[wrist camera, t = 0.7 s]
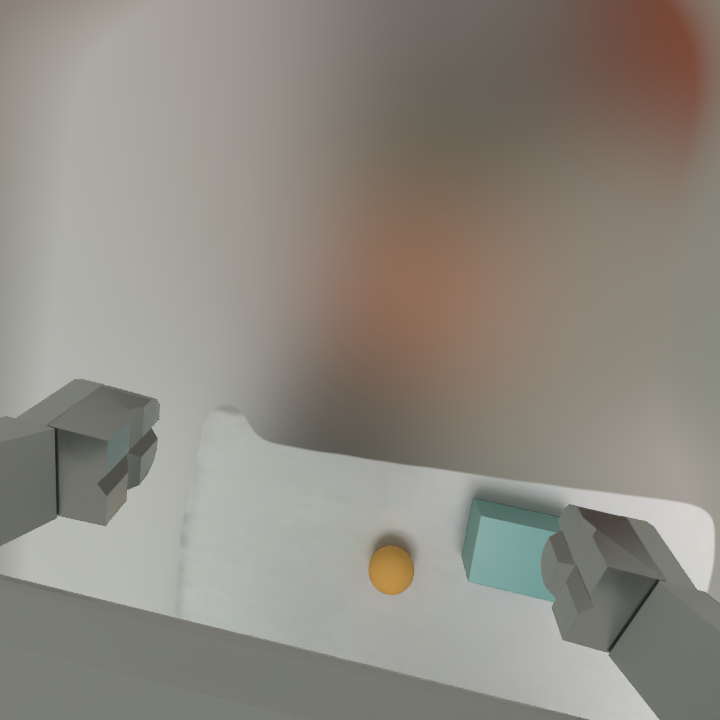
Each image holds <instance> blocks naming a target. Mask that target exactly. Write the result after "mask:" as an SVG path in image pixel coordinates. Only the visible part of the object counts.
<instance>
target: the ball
mask: <svg viewBox="0 0 720 720" xmlns="http://www.w3.org/2000/svg"><path fill="white" fill-rule="evenodd" d="M369 576H370V579H371V582H372V583H373V585H374V586H375V587H376V588H377V589H378V590H379V591H380V592H382V593H384V594H388V595H396V594H399V593H402V592H403V591H405V590H406V589H407V588H408V587H409V586H410V584H411V582H412V580H413V576H414V566H413V562H412V560H411V558H410V556H409V555H408V553H407V552H406V551H404V550H403V549H402V548H400V547H397V546H391V545H390V546H384V547H382V548H380V549H378V550H377V551H376V552H375V553H374V554H373V556H372V558H371V560H370V563H369Z"/></svg>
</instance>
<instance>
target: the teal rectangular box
mask: <svg viewBox="0 0 720 720" xmlns="http://www.w3.org/2000/svg"><path fill="white" fill-rule="evenodd" d="M558 519H559V517H556V516H552V515H547V514H543V513H538V512H534V511H529V510H524V509H520V508H515V507H511V506H506V505H501V504H497V503H492V502H488V501H483V500H479V499H474V498H473V501H472V507H471V512H470V517H469V522H468V527H467V532H466V537H465V542H464V547H463V553H462V560H463V564H464V567H465V571H466V575H467V579H468V582H472V583H476V584H480V585H485V586H489V587H493V588H497V589H502V590H506V591H510V592H514V593H518V594H523V595H527V596H531V597H535V598H540V599H544V600H548V601H552V602H555V600H556V598H555V597H554V596H553V595H552V594H551V593H550V591H549V590H548V589H547V588H546V587H545V585H544V582H543V578H542V575H541V557H542V551H543V548H544V546H545V544H546V542H547V540H548V538H549V537H550V536H552V535H553V534H555V533H557V532H559V531H561V529H560V525H559V522H558Z"/></svg>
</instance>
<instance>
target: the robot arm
mask: <svg viewBox="0 0 720 720" xmlns="http://www.w3.org/2000/svg"><path fill="white" fill-rule="evenodd" d="M159 410H160V404H159V402H158V401H157V399H155V398H151V397H147V396H144V395H140V394H136V393H133V392H129V391H125V390H122V389H118V388H115V387H111V386H105V385H103V384H100V383H96V382H92V381H88V380H84V379H75V380H73V381H71V382H70V383H68V384H67V385H66V386H64V387H63V388H61V389H59V390H58V391H56V392H55V393H53V394H52V395H50V396H49V397H47V398H46V399H44V400H43V401H41V402H40V403H38V404H37V405H35V406H34V407H32V408H31V409H29V410H28V411H26V412H25V413H23V414H21V415H20V416H18V417H17V418H11V417H7V416H6V417H2V418H0V546H2V545H3V544H5V543H7V542H9V541H12V540H14V539H16V538H18V537H20V536H22V535H23V534H26V533H28V532H30V531H32V530H34V529H36V528H38V527H40V526H42V525H44V524H46V523H48V522H50V521H52V520H54V519H56V518H57V516H62V517H66V518H71V519H75V520H80V521H85V522H89V523H94V524H98V525H103V526H106V525H107V524H108V522H109V521H110V520H111V519H112V517H113V516H114V515H115V514H116V513H117V512H118V510H119V509H120V508H121V507H122V506H123V504H124V503H125V502H126V499H127V498H126V497H127V490H128V489H130V488H133V487H135V486H138V485H140V483H141V482H142V481H143V480H144V478H145V477H146V476H147V474H148V472H149V470H150V468H151V466H152V463H153V461H154V458H155V454H156V450H157V441H158V440H157V439H158V438H157V437H156V435H155V433H154V432H153V430H152V426H153V425H154V424H155V423H156V422H157V421H158V420H159ZM558 522H559V525H560V529H561V531H559V532H557V533H555V534H553V535H552V536H550V537H549V538H548V540H547V542H546V544H545V546H544V548H543V551H542V557H541V575H542V578H543V582H544V585H545V587H546V588H547V589H548V590H549V591H550V593H551V594H552V595H553V596H554V597H555V598H556V600H555V602H554V604H553V606H552V610H553V613H554V616H555V619H556V621H557V624H558V627H559V630H560V633H561V636H562V639H563V640H565V641H568V642H572V643H575V644H579V645H583V646H586V647H590V648H593V649H597V650H601V651H604V652H608V653H609V656H610V658H611V659H612V660H613V661H614V663H615V664H616V665H617V667H618V668H619V669H620V670H621V672H622V673H623V674H624V675H625V677H626V678H627V679H628V680H629V682H630V683H631V684H632V685H633V687H634V688H635V689H636V690H637V692H638V693H639V694H640V695H641V697H642V698H643V699H644V701H645V702H646V703H647V704H648V706H649V707H650V708H651V709H652V711H653V712H654V713H655V714H656V716H657V717H658V718H659V719H660V720H720V603H719V602H718V601H716V600H715V599H714V598H712V597H711V596H710V595H709V594H707V593H706V592H703V591H699V590H697V589H696V588H695V586H694V585H693V583H692V582H691V580H690V579H689V577H688V576H687V574H686V573H685V571H684V570H683V569H682V567H681V566H680V564H679V563H678V561H677V560H676V558H675V557H674V555H673V554H672V552H671V551H670V549H669V548H668V547H667V545H666V544H665V542H664V541H663V539H662V538H661V536H660V535H659V533H658V532H657V530H656V529H655V528H654V526H652V525H651V524H649V523H648V522H646V521H642V520H637V519H633V518H628V517H624V516H617V515H613V514H609V513H604V512H600V511H596V510H591V509H587V508H583V507H579V506H574V505H570V504H569V505H568V506H567V507H566V508H565V509H564V510H563V511H562V513H561V515H560V517H559V519H558ZM0 720H588V719H584V718H580V717H576V716H572V715H568V714H564V713H560V712H556V711H552V710H548V709H544V708H540V707H536V706H532V705H528V704H524V703H520V702H516V701H511V700H507V699H503V698H499V697H495V696H491V695H487V694H483V693H479V692H475V691H471V690H467V689H463V688H459V687H455V686H451V685H447V684H443V683H439V682H435V681H431V680H427V679H423V678H418V677H414V676H410V675H406V674H402V673H398V672H394V671H390V670H386V669H382V668H378V667H374V666H370V665H366V664H362V663H358V662H354V661H350V660H346V659H342V658H338V657H334V656H330V655H326V654H322V653H318V652H313V651H309V650H305V649H301V648H297V647H293V646H289V645H285V644H281V643H277V642H273V641H269V640H265V639H261V638H257V637H253V636H249V635H245V634H240V633H236V632H232V631H228V630H224V629H220V628H216V627H212V626H208V625H204V624H200V623H196V622H191V621H187V620H183V619H179V618H175V617H171V616H167V615H163V614H159V613H154V612H151V611H146V610H142V609H138V608H134V607H130V606H126V605H122V604H117V603H114V602H110V601H105V600H102V599H97V598H93V597H89V596H85V595H81V594H77V593H73V592H69V591H65V590H61V589H57V588H53V587H49V586H45V585H41V584H37V583H33V582H29V581H25V580H21V579H17V578H13V577H9V576H5V575H1V574H0Z"/></svg>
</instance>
